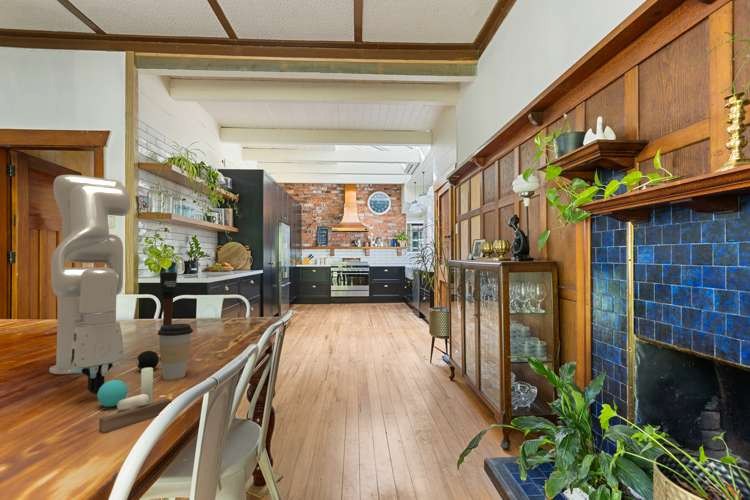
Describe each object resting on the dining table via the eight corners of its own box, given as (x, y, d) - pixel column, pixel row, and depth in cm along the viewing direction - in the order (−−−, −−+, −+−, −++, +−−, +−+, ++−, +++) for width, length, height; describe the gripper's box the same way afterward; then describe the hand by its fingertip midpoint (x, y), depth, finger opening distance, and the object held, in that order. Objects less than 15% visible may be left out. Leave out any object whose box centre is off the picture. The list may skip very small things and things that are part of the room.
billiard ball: (161, 370, 123) (161, 351, 123) (139, 374, 118) (140, 354, 119) (154, 366, 127) (155, 347, 127) (133, 370, 123) (134, 350, 123)
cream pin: (116, 400, 90) (137, 395, 86) (127, 398, 93) (148, 392, 88) (117, 411, 90) (138, 406, 86) (128, 408, 92) (149, 403, 88)
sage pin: (138, 407, 93) (139, 369, 93) (148, 404, 95) (149, 366, 95) (143, 409, 91) (144, 370, 92) (154, 406, 93) (155, 368, 94)
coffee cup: (155, 383, 110) (157, 329, 110) (156, 374, 119) (158, 324, 119) (192, 379, 115) (194, 327, 115) (191, 370, 123) (192, 322, 123)
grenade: (157, 363, 131) (159, 272, 132) (156, 359, 136) (158, 272, 136) (176, 360, 134) (178, 272, 135) (174, 357, 139) (177, 272, 139)
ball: (106, 394, 89) (100, 415, 90) (134, 387, 94) (128, 407, 95) (96, 378, 92) (90, 399, 93) (123, 372, 97) (118, 392, 98)
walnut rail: (99, 430, 80) (99, 418, 80) (166, 409, 92) (166, 398, 92) (103, 433, 79) (104, 420, 79) (171, 410, 91) (171, 400, 91)
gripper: (68, 324, 90) (66, 404, 90) (136, 316, 103) (135, 387, 103) (55, 320, 94) (53, 398, 94) (122, 313, 107) (120, 381, 107)
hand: (95, 392), depth 98 cm, fingers closed
